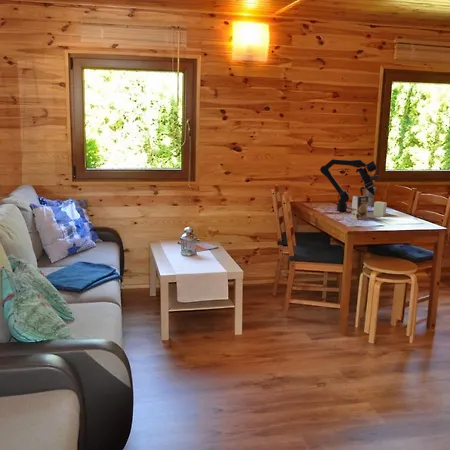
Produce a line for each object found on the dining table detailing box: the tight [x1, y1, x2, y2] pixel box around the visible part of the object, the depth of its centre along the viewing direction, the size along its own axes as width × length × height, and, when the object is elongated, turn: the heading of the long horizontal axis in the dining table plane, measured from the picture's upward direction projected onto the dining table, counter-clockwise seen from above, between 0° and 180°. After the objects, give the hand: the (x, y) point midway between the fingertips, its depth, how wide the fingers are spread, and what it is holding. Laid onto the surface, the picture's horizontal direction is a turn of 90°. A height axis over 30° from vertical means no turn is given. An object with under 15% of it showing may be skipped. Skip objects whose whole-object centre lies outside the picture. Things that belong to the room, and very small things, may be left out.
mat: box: [367, 211, 397, 219], centre depth 382 cm, size 24×20×1 cm
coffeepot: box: [359, 186, 379, 208], centre depth 421 cm, size 15×9×18 cm, turn 103°
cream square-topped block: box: [373, 201, 388, 218], centre depth 377 cm, size 7×7×10 cm
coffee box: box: [350, 194, 368, 221], centre depth 364 cm, size 9×6×16 cm
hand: (374, 194), depth 385 cm, fingers open, 9 cm apart
